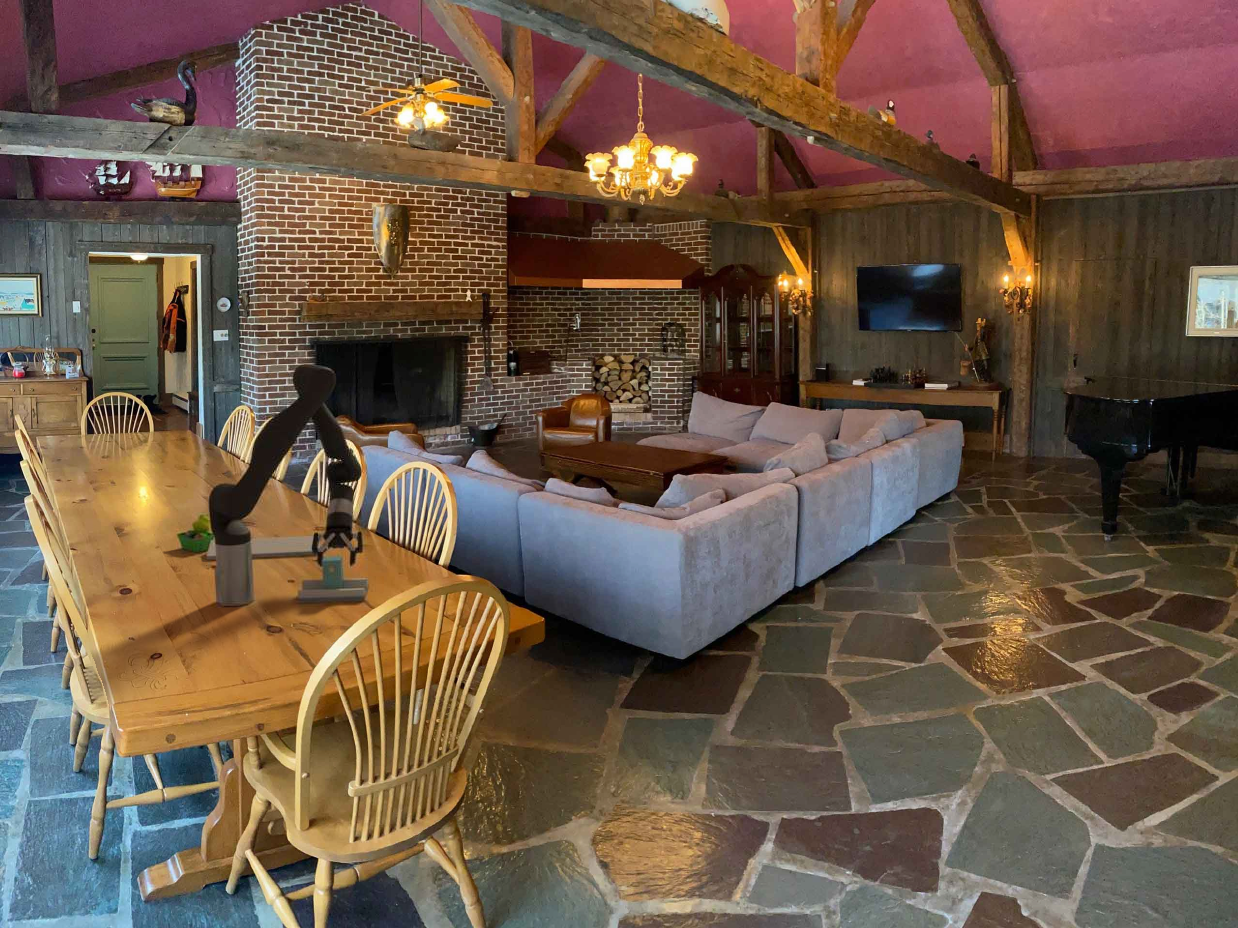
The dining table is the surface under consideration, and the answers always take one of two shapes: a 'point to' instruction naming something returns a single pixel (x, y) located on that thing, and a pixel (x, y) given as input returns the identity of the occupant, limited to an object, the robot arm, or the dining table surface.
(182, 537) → the fruit basket
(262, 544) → the light grey long block
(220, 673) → the dining table surface
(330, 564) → the teal cabinet block
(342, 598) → the cleat board
